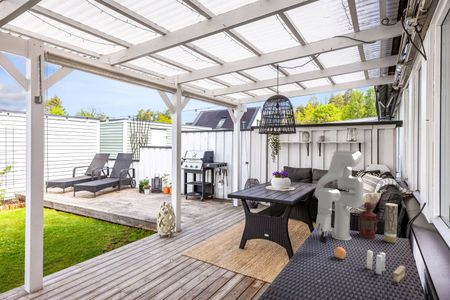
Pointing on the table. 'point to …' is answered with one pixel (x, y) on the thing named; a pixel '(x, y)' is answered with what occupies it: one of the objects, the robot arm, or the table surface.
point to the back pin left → (383, 261)
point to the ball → (340, 252)
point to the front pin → (369, 259)
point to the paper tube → (390, 222)
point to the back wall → (399, 274)
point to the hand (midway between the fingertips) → (323, 242)
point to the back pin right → (379, 264)
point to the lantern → (367, 221)
